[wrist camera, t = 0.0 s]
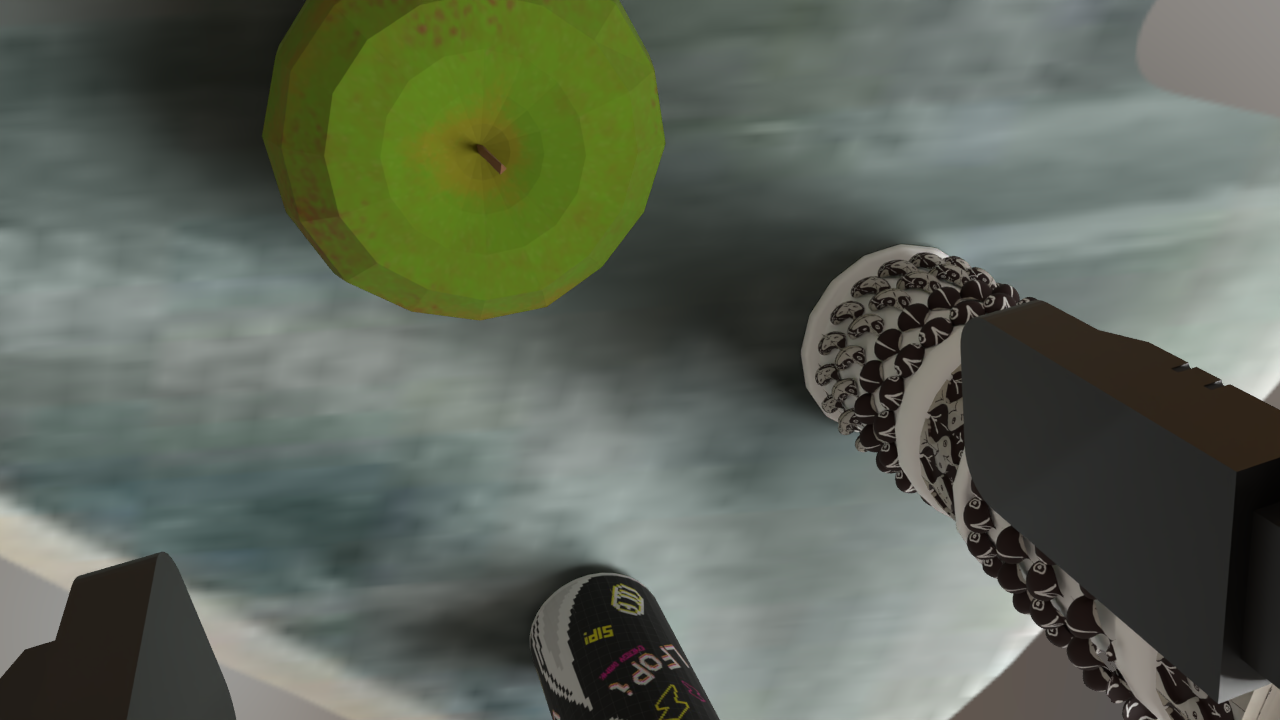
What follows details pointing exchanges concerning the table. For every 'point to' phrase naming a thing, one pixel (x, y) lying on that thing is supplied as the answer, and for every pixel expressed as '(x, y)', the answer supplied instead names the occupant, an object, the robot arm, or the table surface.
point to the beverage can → (613, 655)
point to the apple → (464, 145)
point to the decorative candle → (937, 467)
